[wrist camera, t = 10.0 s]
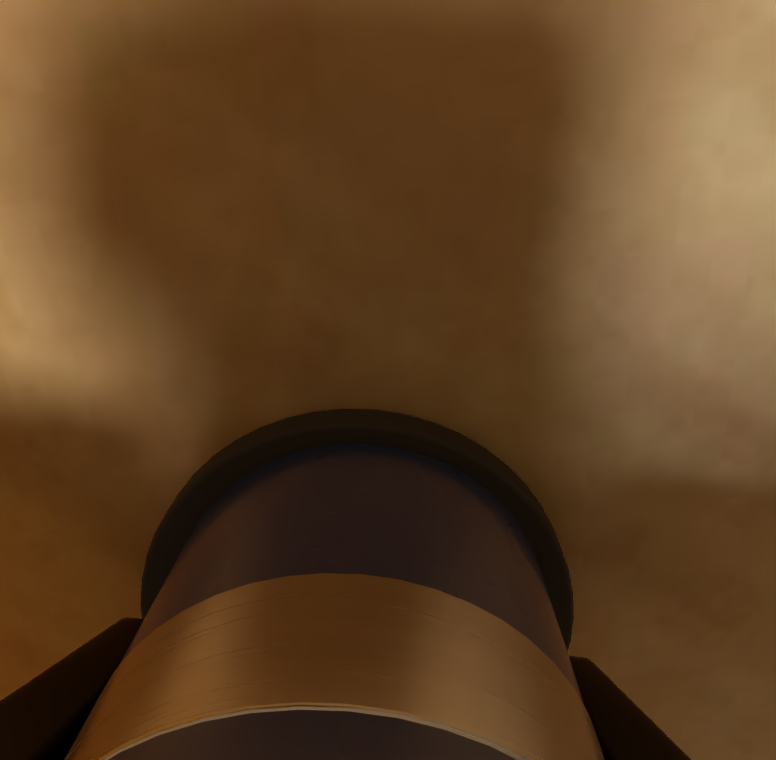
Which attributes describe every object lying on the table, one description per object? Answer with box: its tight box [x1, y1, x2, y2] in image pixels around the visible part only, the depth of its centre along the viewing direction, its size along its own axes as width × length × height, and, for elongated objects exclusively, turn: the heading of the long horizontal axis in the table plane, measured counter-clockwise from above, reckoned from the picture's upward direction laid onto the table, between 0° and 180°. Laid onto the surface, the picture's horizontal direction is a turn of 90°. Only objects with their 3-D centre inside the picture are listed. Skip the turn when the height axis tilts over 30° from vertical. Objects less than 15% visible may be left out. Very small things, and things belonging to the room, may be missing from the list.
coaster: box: [141, 409, 573, 651], centre depth 10 cm, size 6×6×1 cm
